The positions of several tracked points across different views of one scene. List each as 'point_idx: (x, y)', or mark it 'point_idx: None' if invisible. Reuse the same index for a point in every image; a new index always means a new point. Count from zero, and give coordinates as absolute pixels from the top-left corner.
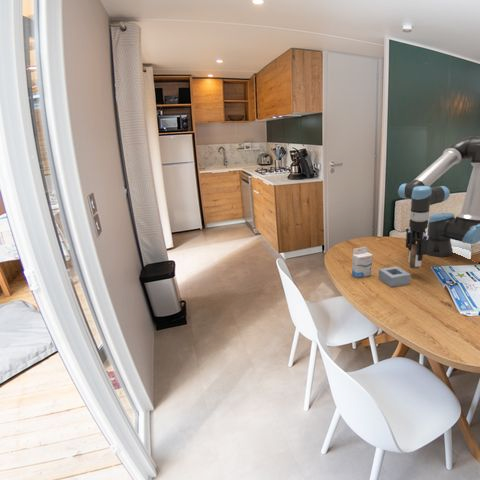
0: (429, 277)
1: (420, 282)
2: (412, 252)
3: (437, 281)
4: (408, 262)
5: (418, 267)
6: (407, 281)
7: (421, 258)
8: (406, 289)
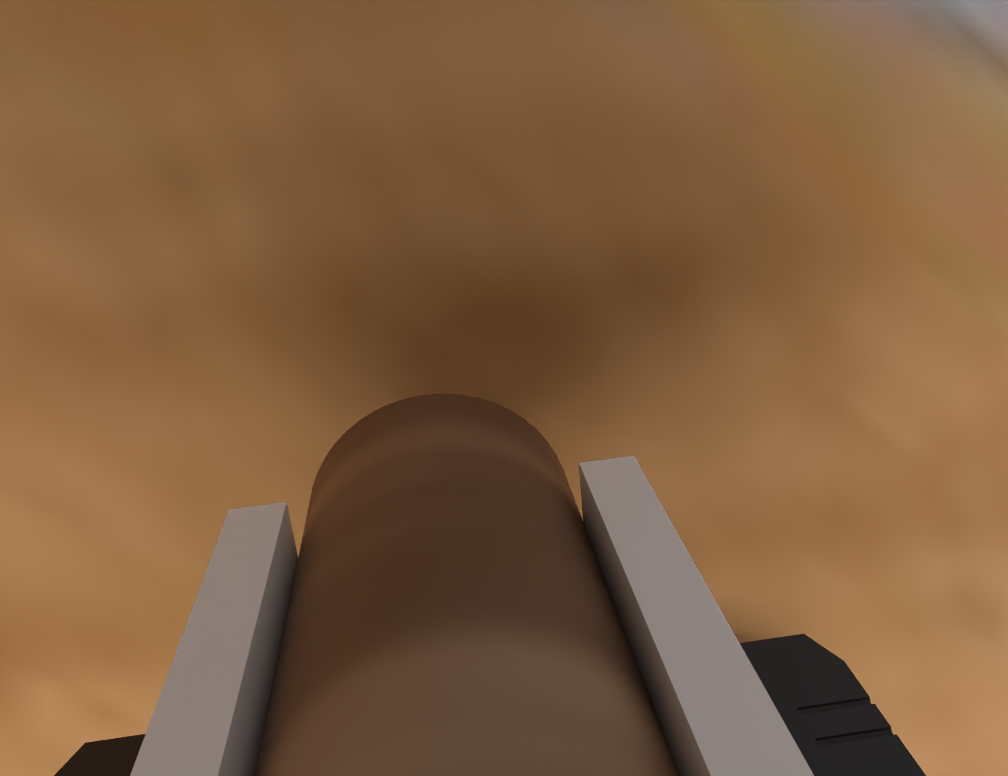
0: (583, 64)
1: (744, 412)
2: None
3: (823, 14)
4: None
5: (549, 450)
6: None
7: (876, 752)
8: None
